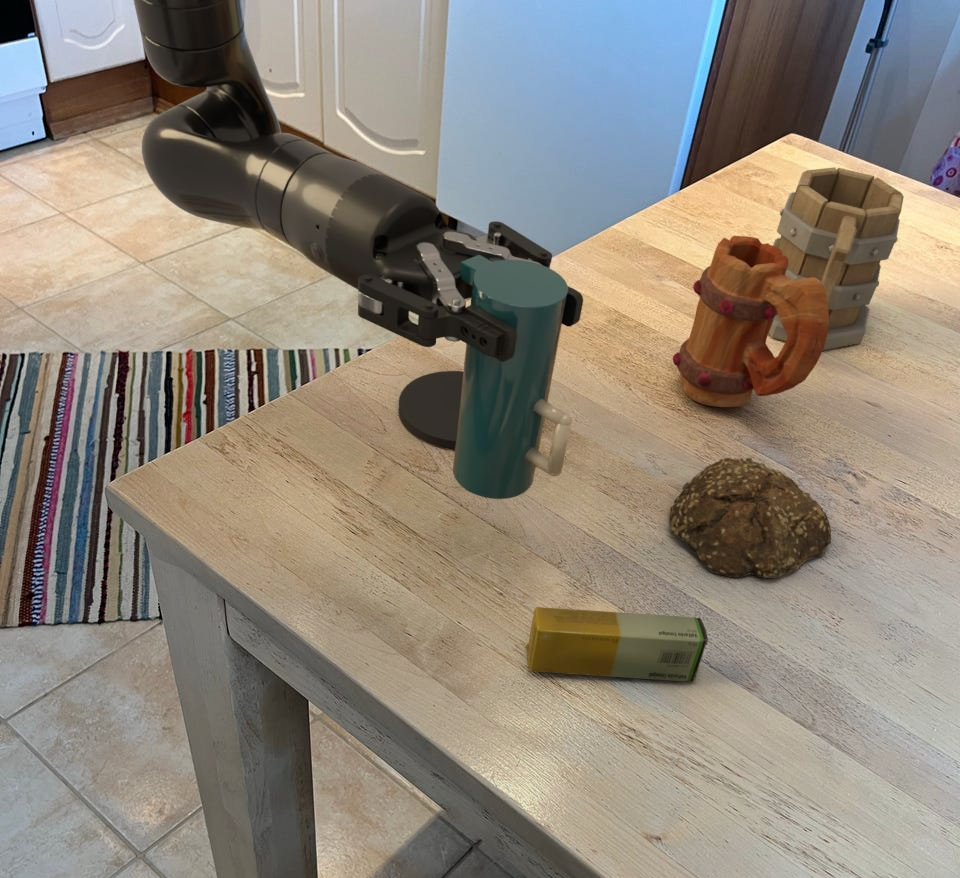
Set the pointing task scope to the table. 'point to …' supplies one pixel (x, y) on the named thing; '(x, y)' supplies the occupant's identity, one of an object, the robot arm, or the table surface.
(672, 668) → the medication box
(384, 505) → the table surface
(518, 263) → the jug
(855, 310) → the tankard
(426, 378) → the disc
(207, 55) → the robot arm
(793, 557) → the bread roll
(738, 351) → the mug
